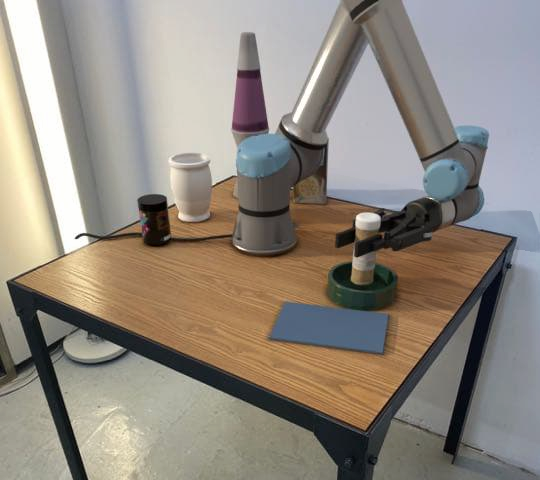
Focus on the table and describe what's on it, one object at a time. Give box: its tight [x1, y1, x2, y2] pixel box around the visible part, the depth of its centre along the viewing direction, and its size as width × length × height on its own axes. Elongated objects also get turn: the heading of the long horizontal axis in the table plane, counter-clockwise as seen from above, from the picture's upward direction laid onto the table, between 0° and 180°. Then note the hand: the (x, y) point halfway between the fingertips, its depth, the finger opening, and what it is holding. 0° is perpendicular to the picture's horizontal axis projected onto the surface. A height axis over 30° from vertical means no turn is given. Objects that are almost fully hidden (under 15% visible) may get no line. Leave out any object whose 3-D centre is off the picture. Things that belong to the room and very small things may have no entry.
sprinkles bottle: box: [351, 212, 381, 285], centre depth 109 cm, size 5×5×14 cm
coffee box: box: [292, 137, 330, 205], centre depth 153 cm, size 9×6×16 cm
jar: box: [167, 152, 213, 223], centre depth 143 cm, size 11×10×15 cm
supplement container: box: [136, 193, 172, 248], centre depth 132 cm, size 7×7×10 cm
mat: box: [268, 301, 390, 355], centre depth 104 cm, size 20×13×1 cm, turn 76°
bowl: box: [326, 260, 399, 312], centre depth 113 cm, size 14×14×4 cm
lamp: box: [230, 31, 270, 199], centre depth 150 cm, size 11×11×40 cm
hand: (346, 245), depth 104 cm, fingers closed on sprinkles bottle, 4 cm apart
